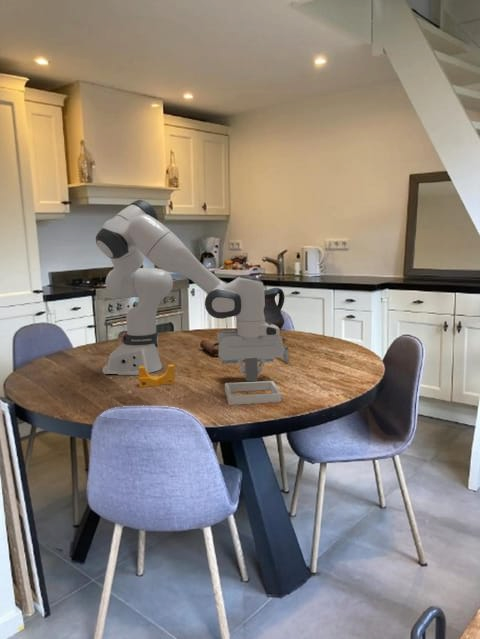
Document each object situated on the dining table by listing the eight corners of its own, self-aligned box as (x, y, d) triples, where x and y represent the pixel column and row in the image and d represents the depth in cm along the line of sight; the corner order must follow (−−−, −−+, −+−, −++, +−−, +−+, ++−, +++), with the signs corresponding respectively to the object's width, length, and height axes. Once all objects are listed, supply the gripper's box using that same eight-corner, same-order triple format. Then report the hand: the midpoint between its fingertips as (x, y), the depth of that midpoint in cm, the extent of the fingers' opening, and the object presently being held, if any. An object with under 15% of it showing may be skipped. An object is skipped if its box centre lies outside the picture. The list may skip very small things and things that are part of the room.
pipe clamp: (139, 387, 175) (138, 369, 174) (140, 384, 180) (139, 366, 179) (174, 385, 177) (174, 367, 176) (174, 382, 181) (174, 364, 180)
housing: (228, 406, 155) (228, 396, 154) (225, 392, 168) (224, 383, 168) (281, 403, 156) (281, 393, 156) (273, 389, 170) (273, 380, 170)
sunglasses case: (231, 350, 219) (221, 339, 216) (219, 362, 218) (209, 351, 215) (217, 342, 235) (207, 332, 233) (206, 353, 234) (197, 343, 232)
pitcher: (234, 339, 251) (233, 288, 247) (272, 334, 262) (271, 285, 257) (255, 346, 234) (254, 292, 229) (295, 341, 244) (295, 289, 239)
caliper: (289, 363, 202) (289, 347, 201) (286, 363, 202) (286, 348, 201) (271, 351, 221) (271, 337, 220) (268, 351, 221) (268, 337, 220)
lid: (222, 363, 169) (222, 348, 169) (219, 353, 184) (218, 339, 183) (273, 361, 171) (273, 346, 170) (266, 351, 186) (266, 337, 185)
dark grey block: (246, 381, 159) (246, 359, 158) (245, 378, 163) (244, 356, 162) (257, 380, 160) (257, 358, 158) (256, 377, 163) (255, 355, 162)
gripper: (217, 331, 154) (218, 376, 157) (284, 329, 156) (284, 373, 159) (216, 327, 161) (217, 370, 163) (281, 325, 163) (281, 368, 165)
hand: (251, 372), depth 161 cm, fingers closed on dark grey block, 3 cm apart
